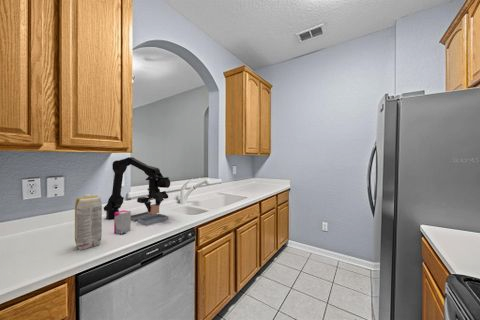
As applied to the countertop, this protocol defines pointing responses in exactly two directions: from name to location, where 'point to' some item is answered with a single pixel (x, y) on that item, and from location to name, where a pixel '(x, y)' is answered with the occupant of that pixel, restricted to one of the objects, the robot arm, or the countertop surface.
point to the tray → (152, 219)
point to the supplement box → (122, 222)
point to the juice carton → (88, 221)
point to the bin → (140, 216)
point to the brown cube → (154, 209)
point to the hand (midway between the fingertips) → (153, 211)
